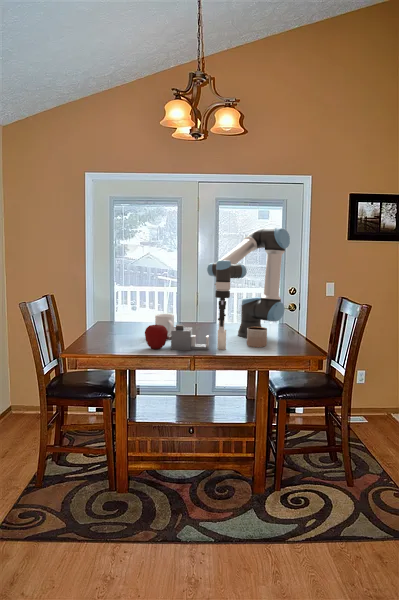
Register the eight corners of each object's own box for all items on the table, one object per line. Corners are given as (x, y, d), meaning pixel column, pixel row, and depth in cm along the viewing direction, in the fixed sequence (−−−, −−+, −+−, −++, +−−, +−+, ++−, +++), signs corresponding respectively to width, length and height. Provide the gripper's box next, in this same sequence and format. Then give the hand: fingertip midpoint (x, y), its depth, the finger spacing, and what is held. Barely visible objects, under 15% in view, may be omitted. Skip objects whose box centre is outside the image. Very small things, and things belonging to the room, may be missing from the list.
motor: (208, 346, 257) (209, 324, 256) (208, 350, 246) (208, 327, 244) (168, 344, 259) (168, 323, 257) (165, 349, 247) (165, 326, 245)
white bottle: (225, 348, 253) (226, 325, 252) (225, 349, 249) (226, 327, 247) (217, 347, 253) (217, 325, 252) (217, 349, 249) (217, 326, 248)
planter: (261, 348, 254) (262, 330, 252) (243, 346, 259) (243, 328, 258) (269, 345, 263) (270, 327, 262) (252, 342, 268) (252, 325, 267)
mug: (180, 339, 276) (181, 316, 274) (164, 340, 270) (164, 318, 268) (168, 334, 288) (168, 313, 287) (151, 336, 282) (151, 314, 280)
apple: (148, 351, 241) (148, 325, 240) (142, 347, 252) (141, 322, 250) (171, 349, 246) (171, 324, 245) (163, 345, 257) (163, 321, 255)
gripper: (216, 288, 260) (214, 326, 262) (214, 291, 235) (213, 334, 238) (229, 288, 260) (228, 327, 262) (230, 292, 235) (228, 334, 237)
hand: (221, 330), depth 250 cm, fingers open, 13 cm apart
